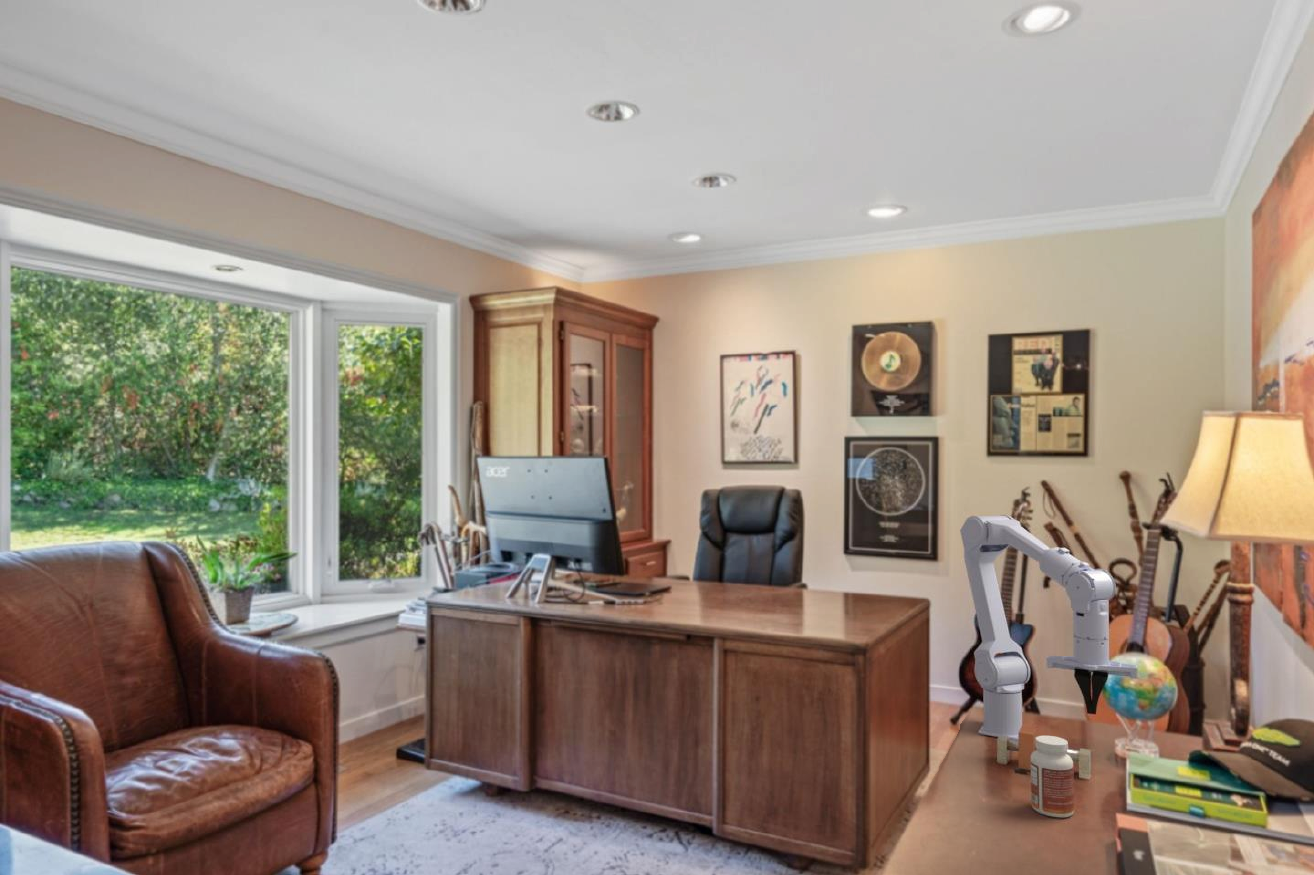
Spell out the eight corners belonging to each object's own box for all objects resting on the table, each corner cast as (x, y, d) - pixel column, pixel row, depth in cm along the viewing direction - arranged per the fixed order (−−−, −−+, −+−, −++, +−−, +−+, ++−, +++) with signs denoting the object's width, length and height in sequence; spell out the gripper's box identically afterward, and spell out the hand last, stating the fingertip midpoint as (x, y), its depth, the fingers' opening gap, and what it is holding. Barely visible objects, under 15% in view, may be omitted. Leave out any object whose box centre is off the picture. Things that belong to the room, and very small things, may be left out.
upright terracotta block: (1018, 768, 148) (1018, 732, 148) (1023, 758, 153) (1023, 723, 153) (1033, 771, 147) (1033, 734, 147) (1038, 760, 152) (1038, 725, 152)
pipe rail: (994, 768, 149) (993, 744, 149) (1003, 752, 157) (1003, 729, 157) (1087, 786, 141) (1087, 760, 141) (1092, 768, 149) (1091, 744, 149)
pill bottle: (1082, 813, 130) (1081, 741, 130) (1060, 822, 126) (1059, 749, 127) (1045, 799, 135) (1044, 731, 135) (1022, 808, 132) (1022, 737, 132)
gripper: (1044, 636, 150) (1044, 711, 150) (1136, 645, 143) (1137, 725, 142) (1049, 629, 156) (1049, 702, 156) (1137, 638, 149) (1138, 714, 148)
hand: (1091, 712), depth 149 cm, fingers closed
